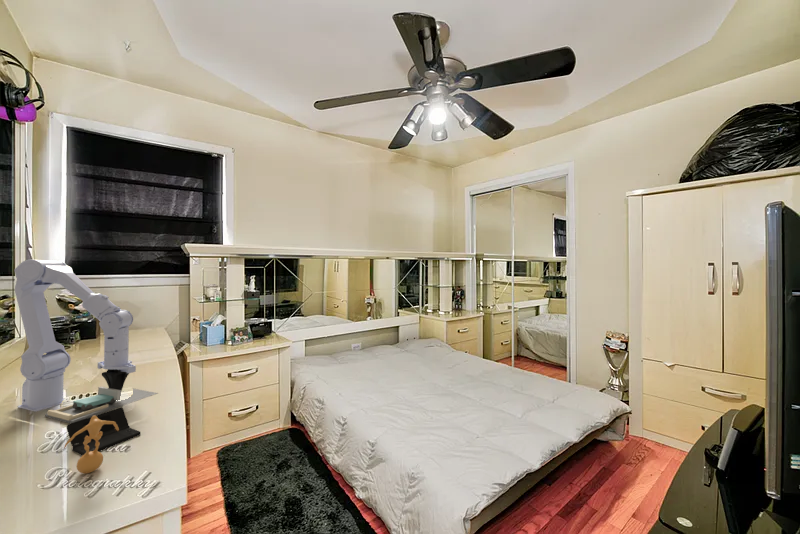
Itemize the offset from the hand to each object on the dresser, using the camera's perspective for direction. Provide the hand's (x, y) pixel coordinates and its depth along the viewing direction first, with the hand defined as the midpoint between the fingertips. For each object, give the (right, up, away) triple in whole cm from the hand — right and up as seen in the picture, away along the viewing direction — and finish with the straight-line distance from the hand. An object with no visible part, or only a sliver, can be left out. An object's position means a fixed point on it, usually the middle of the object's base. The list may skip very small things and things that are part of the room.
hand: (116, 393), depth 101 cm
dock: (-1, -3, -2) cm, 4 cm away
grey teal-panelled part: (-1, -2, -5) cm, 6 cm away
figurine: (+26, -3, -35) cm, 43 cm away
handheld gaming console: (+17, -3, -22) cm, 28 cm away
